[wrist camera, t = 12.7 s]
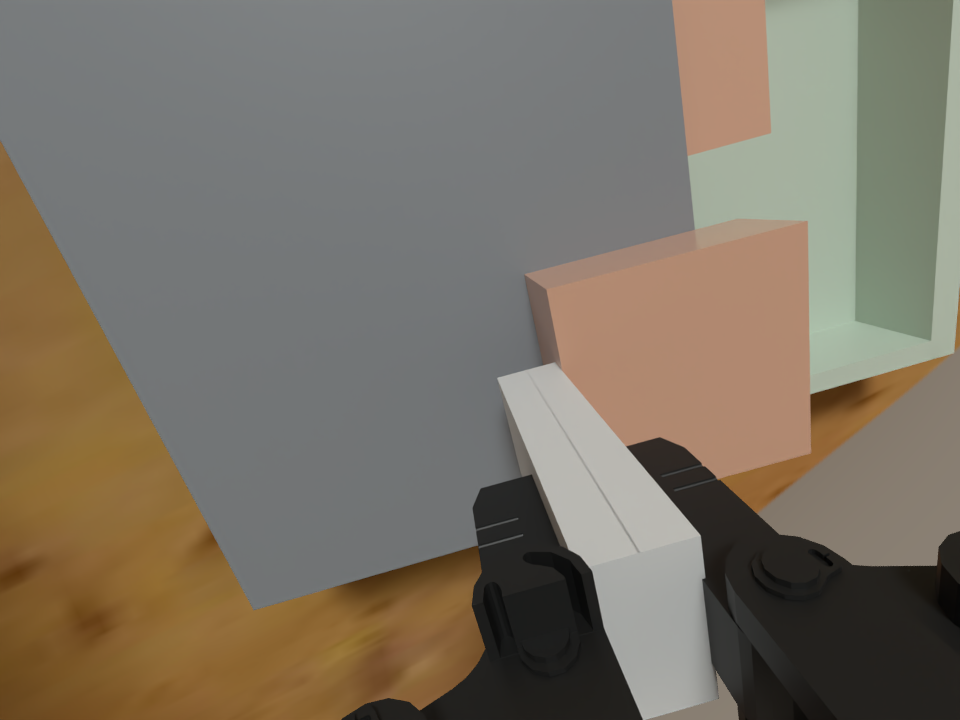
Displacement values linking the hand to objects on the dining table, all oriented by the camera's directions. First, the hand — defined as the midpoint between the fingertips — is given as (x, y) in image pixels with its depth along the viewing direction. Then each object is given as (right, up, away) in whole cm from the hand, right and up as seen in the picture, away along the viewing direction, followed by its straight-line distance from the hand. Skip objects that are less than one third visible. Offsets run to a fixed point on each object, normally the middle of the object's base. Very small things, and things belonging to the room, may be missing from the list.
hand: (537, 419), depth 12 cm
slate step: (-4, +6, +7) cm, 10 cm away
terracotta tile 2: (+3, +2, +2) cm, 4 cm away
